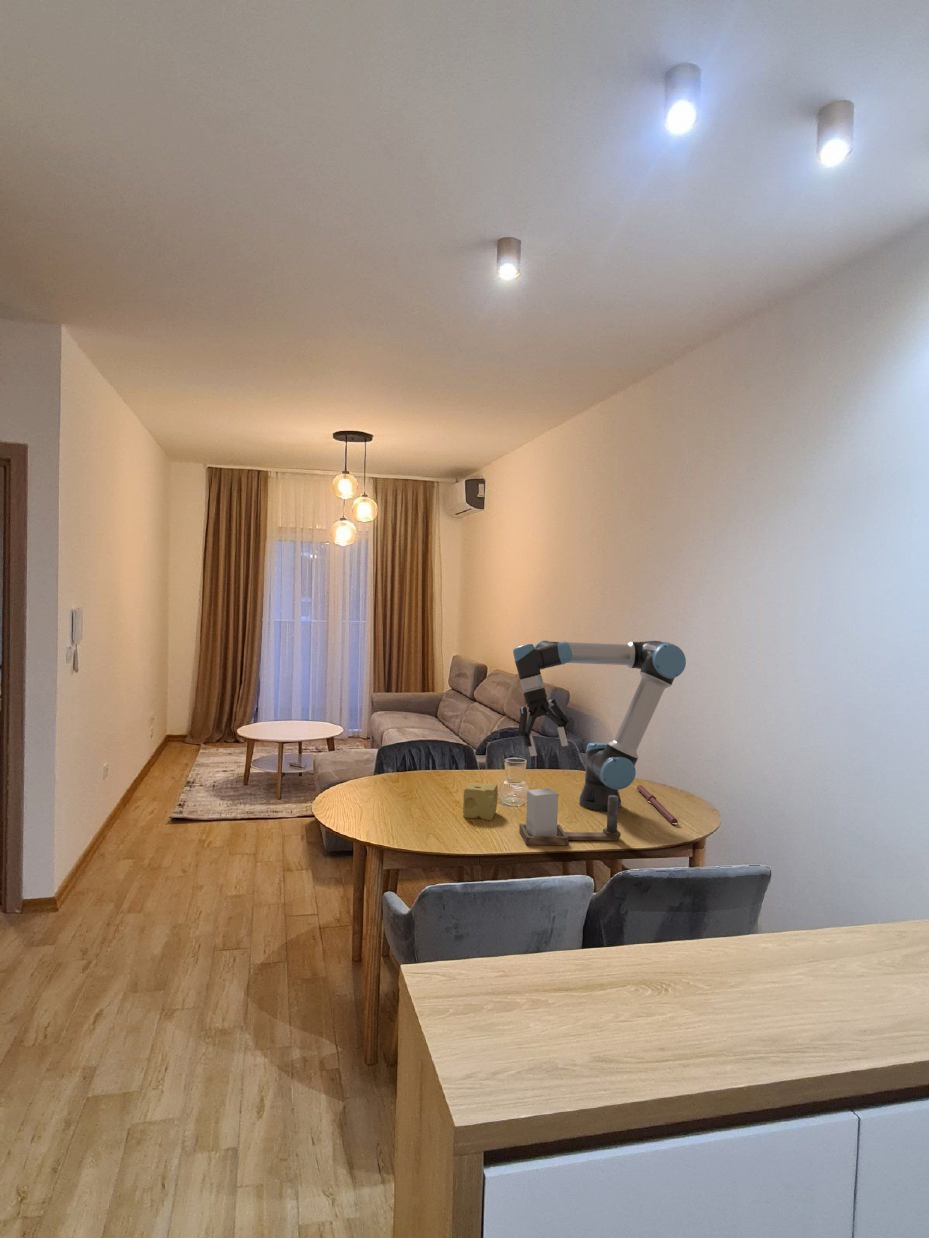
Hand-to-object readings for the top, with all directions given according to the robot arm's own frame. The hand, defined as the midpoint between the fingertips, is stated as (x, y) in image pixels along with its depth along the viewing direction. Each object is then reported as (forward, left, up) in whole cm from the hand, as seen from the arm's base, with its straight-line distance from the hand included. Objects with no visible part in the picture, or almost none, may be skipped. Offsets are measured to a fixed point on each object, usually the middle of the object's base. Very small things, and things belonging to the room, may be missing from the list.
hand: (549, 750), depth 261 cm
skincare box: (+6, +20, -24) cm, 32 cm away
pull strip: (-4, +18, -24) cm, 30 cm away
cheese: (+22, -7, -24) cm, 34 cm away
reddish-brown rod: (-44, -18, -24) cm, 54 cm away
